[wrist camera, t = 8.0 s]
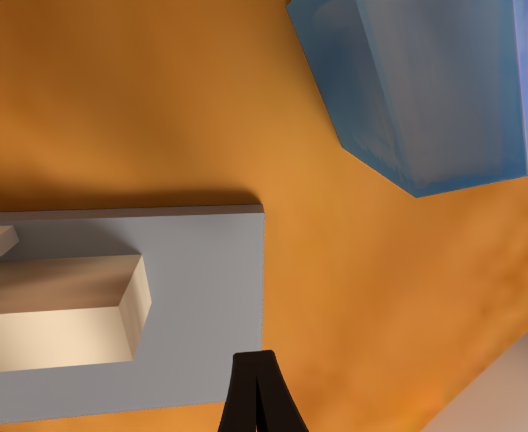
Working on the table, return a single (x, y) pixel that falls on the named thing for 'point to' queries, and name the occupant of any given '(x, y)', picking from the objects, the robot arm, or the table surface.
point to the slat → (71, 311)
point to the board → (161, 310)
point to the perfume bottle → (423, 86)
